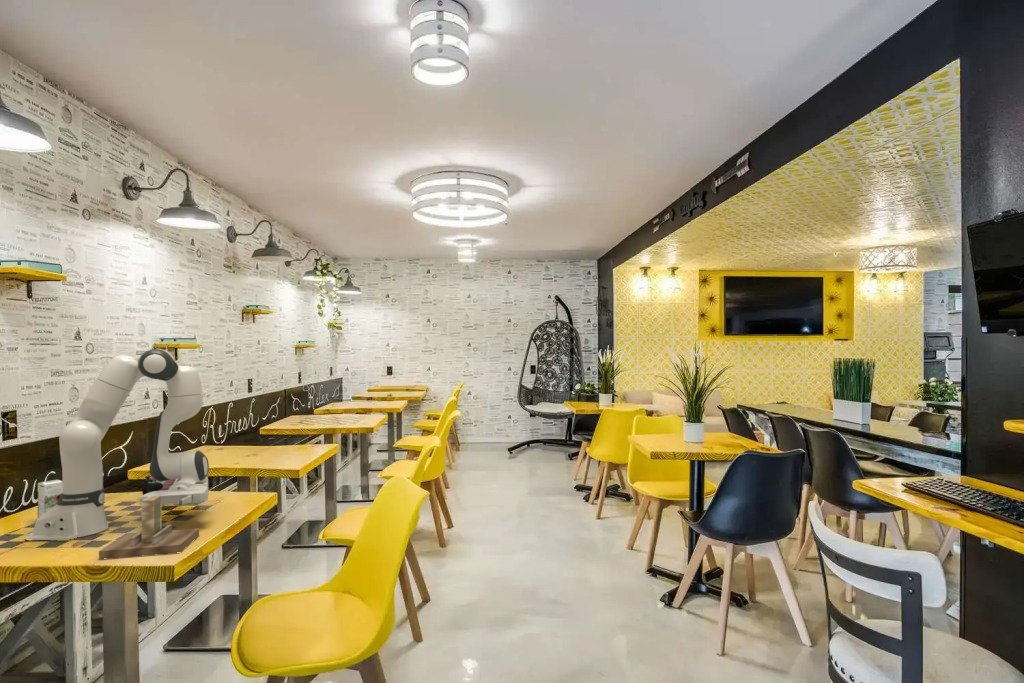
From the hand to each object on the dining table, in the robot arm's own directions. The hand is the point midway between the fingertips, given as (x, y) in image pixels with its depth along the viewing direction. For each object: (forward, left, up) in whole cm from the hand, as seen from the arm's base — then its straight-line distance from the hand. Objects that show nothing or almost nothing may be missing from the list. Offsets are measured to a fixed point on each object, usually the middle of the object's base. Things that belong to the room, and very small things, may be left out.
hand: (165, 503), depth 183 cm
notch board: (0, -10, -11) cm, 15 cm away
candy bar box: (-23, +61, -11) cm, 66 cm away
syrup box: (-51, +31, -11) cm, 61 cm away
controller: (-25, +51, -11) cm, 58 cm away
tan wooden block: (0, -10, -8) cm, 13 cm away
